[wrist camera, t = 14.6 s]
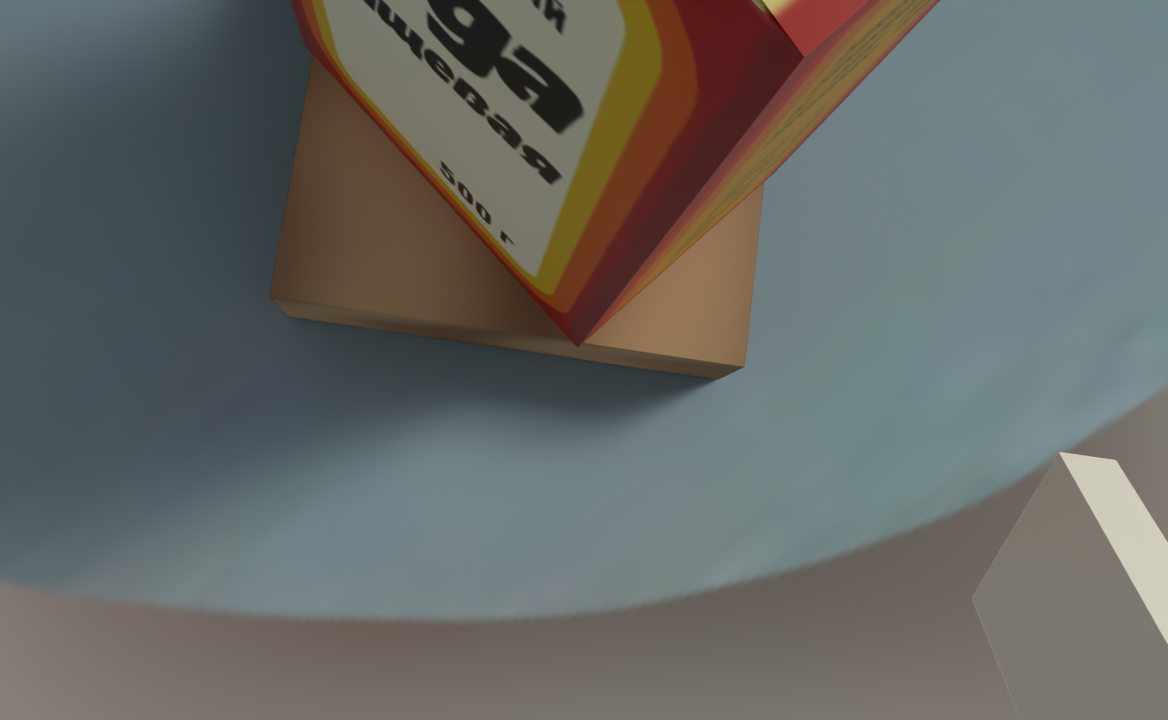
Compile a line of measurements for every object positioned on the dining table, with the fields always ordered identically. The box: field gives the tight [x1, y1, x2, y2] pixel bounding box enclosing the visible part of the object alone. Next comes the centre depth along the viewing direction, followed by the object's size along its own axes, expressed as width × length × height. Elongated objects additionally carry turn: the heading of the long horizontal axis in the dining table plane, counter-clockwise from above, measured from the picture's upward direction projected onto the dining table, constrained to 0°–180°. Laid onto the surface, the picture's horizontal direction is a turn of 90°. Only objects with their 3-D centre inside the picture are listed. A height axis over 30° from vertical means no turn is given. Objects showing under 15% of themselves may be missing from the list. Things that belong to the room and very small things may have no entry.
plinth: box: [270, 55, 764, 379], centre depth 26 cm, size 11×11×2 cm
